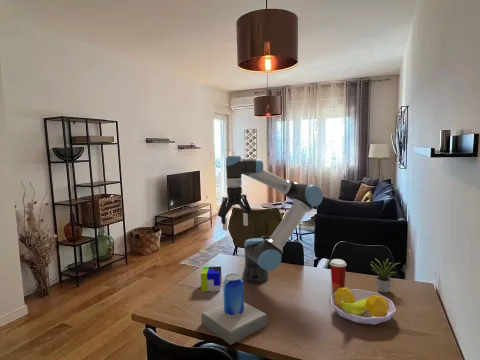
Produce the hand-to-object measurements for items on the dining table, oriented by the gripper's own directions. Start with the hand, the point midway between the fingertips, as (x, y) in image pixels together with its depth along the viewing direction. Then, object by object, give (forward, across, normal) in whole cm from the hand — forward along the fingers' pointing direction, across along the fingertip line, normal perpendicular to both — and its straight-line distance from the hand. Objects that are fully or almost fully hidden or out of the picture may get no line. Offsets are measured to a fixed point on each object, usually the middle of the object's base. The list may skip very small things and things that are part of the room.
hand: (235, 227), depth 159 cm
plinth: (+35, -20, -22) cm, 46 cm away
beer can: (+30, -20, -22) cm, 42 cm away
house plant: (+35, +58, -50) cm, 84 cm away
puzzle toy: (+35, -6, +15) cm, 39 cm away
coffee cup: (+35, +41, -33) cm, 63 cm away
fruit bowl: (+35, +25, -54) cm, 69 cm away
